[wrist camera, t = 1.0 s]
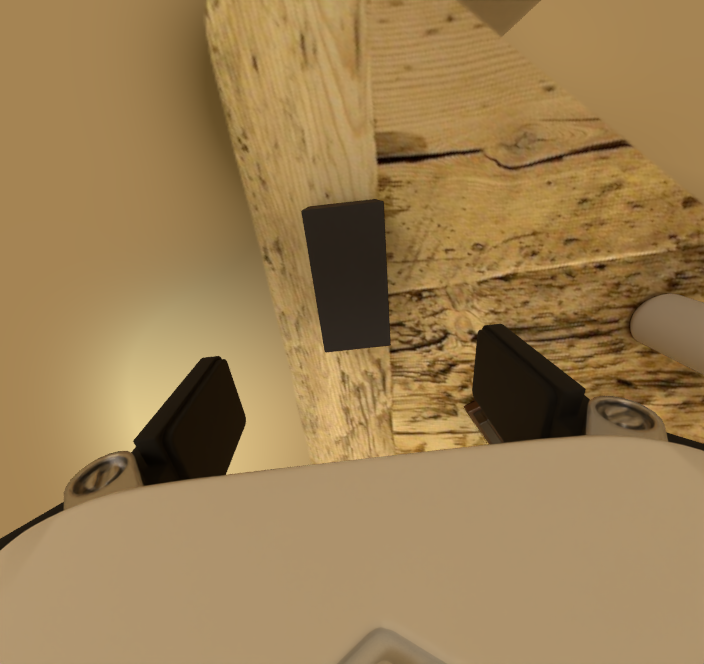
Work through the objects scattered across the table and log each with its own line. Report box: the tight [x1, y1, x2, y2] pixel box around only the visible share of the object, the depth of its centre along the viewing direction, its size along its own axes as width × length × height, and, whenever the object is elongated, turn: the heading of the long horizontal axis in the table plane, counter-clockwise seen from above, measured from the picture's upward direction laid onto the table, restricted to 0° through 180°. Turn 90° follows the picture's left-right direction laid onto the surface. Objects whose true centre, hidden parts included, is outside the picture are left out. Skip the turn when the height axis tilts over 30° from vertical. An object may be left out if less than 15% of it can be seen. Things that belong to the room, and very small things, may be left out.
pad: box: [301, 199, 391, 352], centre depth 21 cm, size 10×5×4 cm, turn 6°
